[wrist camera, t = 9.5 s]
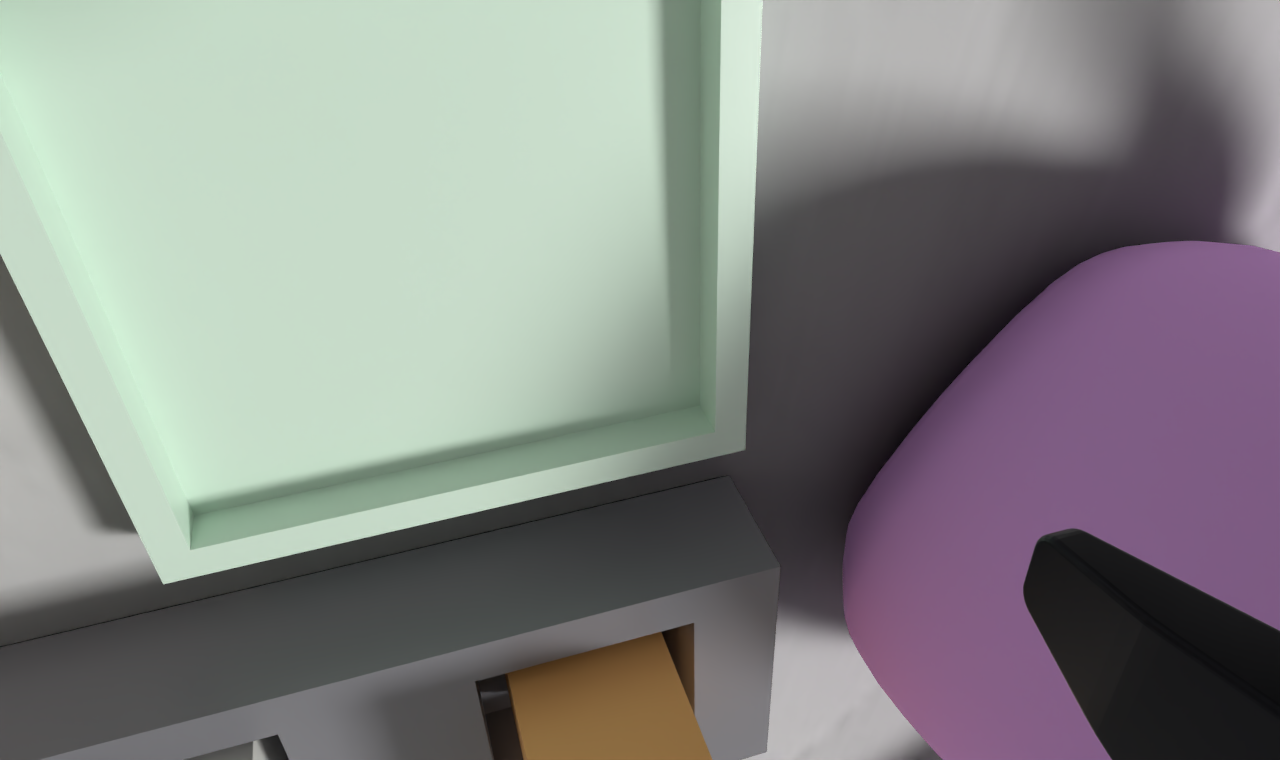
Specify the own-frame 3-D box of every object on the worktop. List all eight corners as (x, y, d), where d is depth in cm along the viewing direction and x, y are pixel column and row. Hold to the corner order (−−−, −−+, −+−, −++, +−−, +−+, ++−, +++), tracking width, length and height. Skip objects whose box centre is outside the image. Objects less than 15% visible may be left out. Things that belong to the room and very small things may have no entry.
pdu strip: (729, 475, 26) (780, 566, 24) (724, 658, 31) (766, 752, 28) (-85, 667, 22) (-137, 805, 19) (54, 845, 27) (28, 976, 24)
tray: (736, -190, 17) (769, -182, 16) (723, 414, 25) (745, 450, 24) (-138, -122, 14) (-177, -104, 13) (169, 536, 22) (163, 584, 21)
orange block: (634, 564, 26) (724, 790, 21) (639, 655, 29) (721, 880, 23) (490, 599, 26) (546, 845, 20) (507, 690, 28) (561, 932, 23)
